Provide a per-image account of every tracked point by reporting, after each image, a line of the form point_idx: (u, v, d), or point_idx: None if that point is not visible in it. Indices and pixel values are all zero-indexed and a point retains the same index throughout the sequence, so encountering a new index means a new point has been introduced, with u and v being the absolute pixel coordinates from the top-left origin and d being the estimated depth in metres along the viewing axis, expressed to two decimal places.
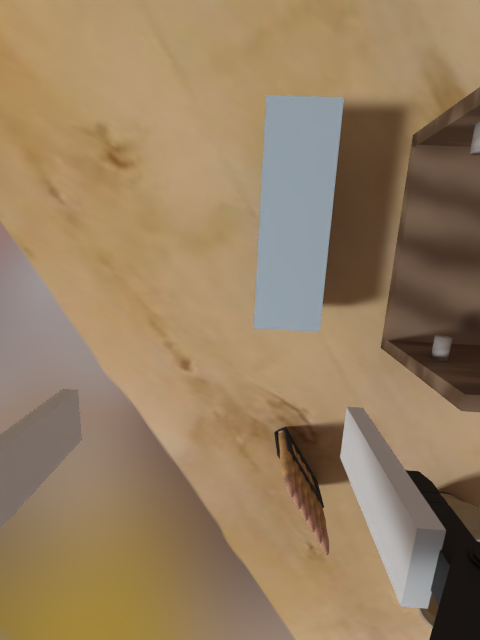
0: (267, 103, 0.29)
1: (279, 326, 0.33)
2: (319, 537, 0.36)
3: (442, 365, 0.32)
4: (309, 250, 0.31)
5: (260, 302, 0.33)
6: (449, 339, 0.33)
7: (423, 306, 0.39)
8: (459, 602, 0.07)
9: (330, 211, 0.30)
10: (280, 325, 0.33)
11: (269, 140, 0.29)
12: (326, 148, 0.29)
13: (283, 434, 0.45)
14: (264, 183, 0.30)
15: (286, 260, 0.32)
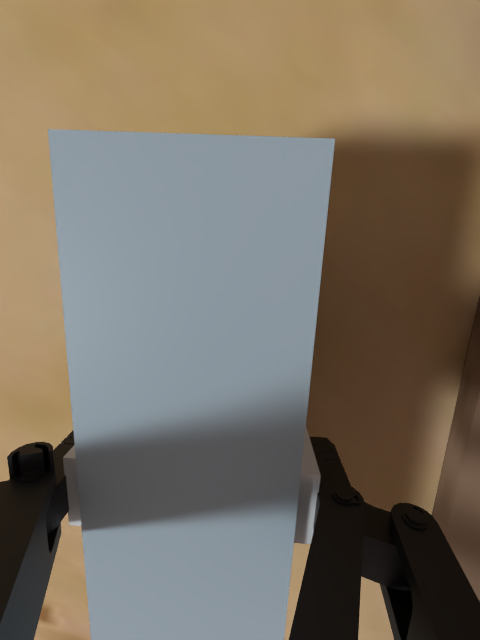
0: (55, 158, 0.08)
1: None
2: None
3: None
4: (233, 580, 0.11)
5: None
6: None
7: None
8: (325, 535, 0.08)
9: (293, 490, 0.10)
10: None
11: (77, 280, 0.08)
12: (276, 312, 0.08)
13: None
14: (79, 408, 0.09)
15: (169, 601, 0.11)
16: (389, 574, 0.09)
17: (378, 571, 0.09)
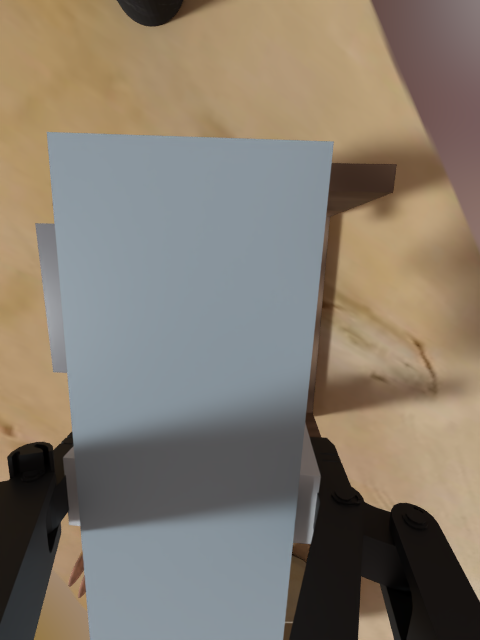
0: (53, 161, 0.08)
1: None
2: None
3: None
4: (232, 582, 0.11)
5: None
6: None
7: None
8: (325, 535, 0.08)
9: (292, 492, 0.10)
10: None
11: (76, 282, 0.08)
12: (275, 314, 0.08)
13: None
14: (78, 410, 0.09)
15: (168, 603, 0.11)
16: (389, 575, 0.09)
17: (377, 570, 0.09)
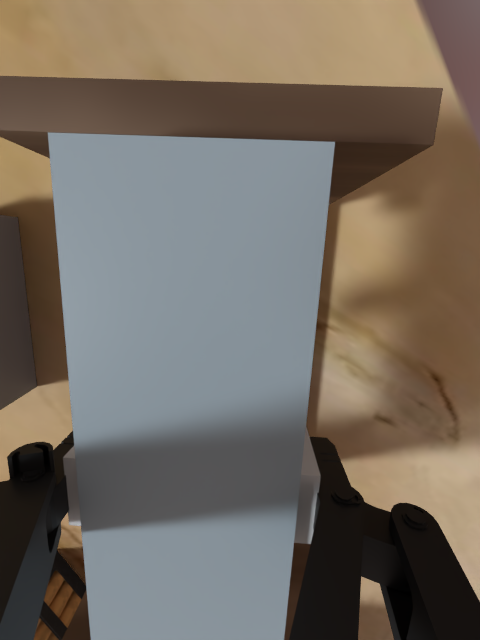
0: (54, 161, 0.08)
1: None
2: None
3: None
4: (233, 582, 0.11)
5: None
6: None
7: None
8: (325, 535, 0.08)
9: (293, 493, 0.10)
10: None
11: (77, 283, 0.08)
12: (275, 314, 0.08)
13: None
14: (79, 411, 0.09)
15: (169, 603, 0.11)
16: (389, 574, 0.09)
17: (378, 571, 0.09)
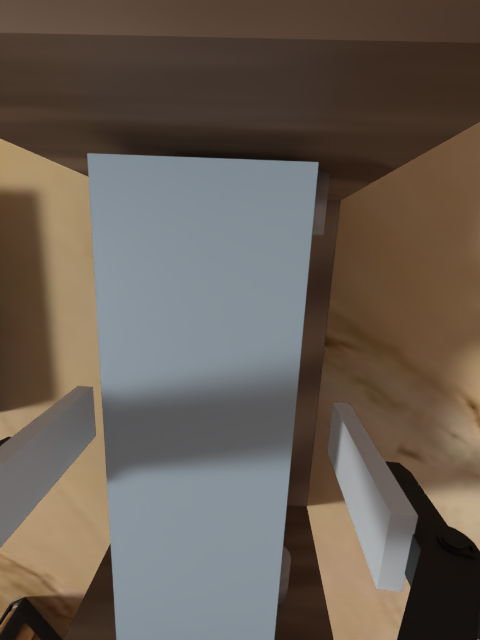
0: (92, 176, 0.10)
1: None
2: None
3: (111, 619, 0.17)
4: (236, 531, 0.12)
5: (126, 628, 0.14)
6: None
7: None
8: (429, 584, 0.07)
9: (287, 451, 0.11)
10: None
11: (108, 276, 0.10)
12: (272, 301, 0.10)
13: (11, 615, 0.29)
14: (107, 383, 0.11)
15: (181, 551, 0.13)
16: None
17: None
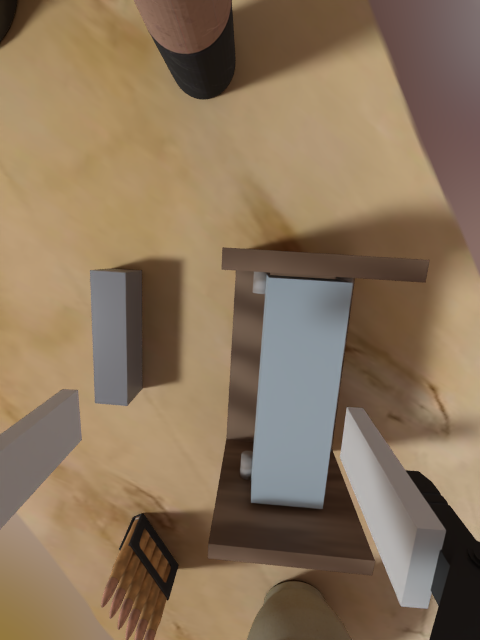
0: (269, 285, 0.26)
1: (279, 502, 0.30)
2: None
3: (237, 488, 0.33)
4: (312, 429, 0.29)
5: (258, 477, 0.30)
6: (250, 459, 0.34)
7: None
8: (459, 602, 0.07)
9: (336, 393, 0.28)
10: (279, 501, 0.30)
11: (270, 321, 0.27)
12: (333, 331, 0.27)
13: (137, 522, 0.46)
14: (264, 363, 0.28)
15: (287, 438, 0.29)
16: None
17: None
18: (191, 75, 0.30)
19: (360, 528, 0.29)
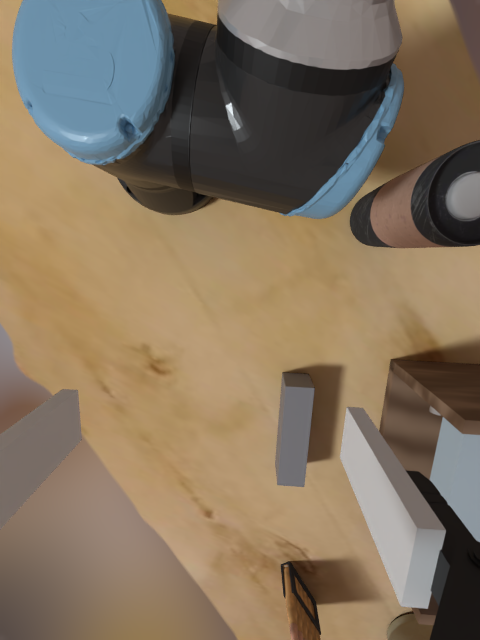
0: None
1: None
2: None
3: None
4: None
5: None
6: None
7: None
8: (459, 602, 0.07)
9: None
10: None
11: (465, 448, 0.36)
12: None
13: (288, 570, 0.55)
14: (456, 476, 0.36)
15: None
16: None
17: None
18: None
19: None
